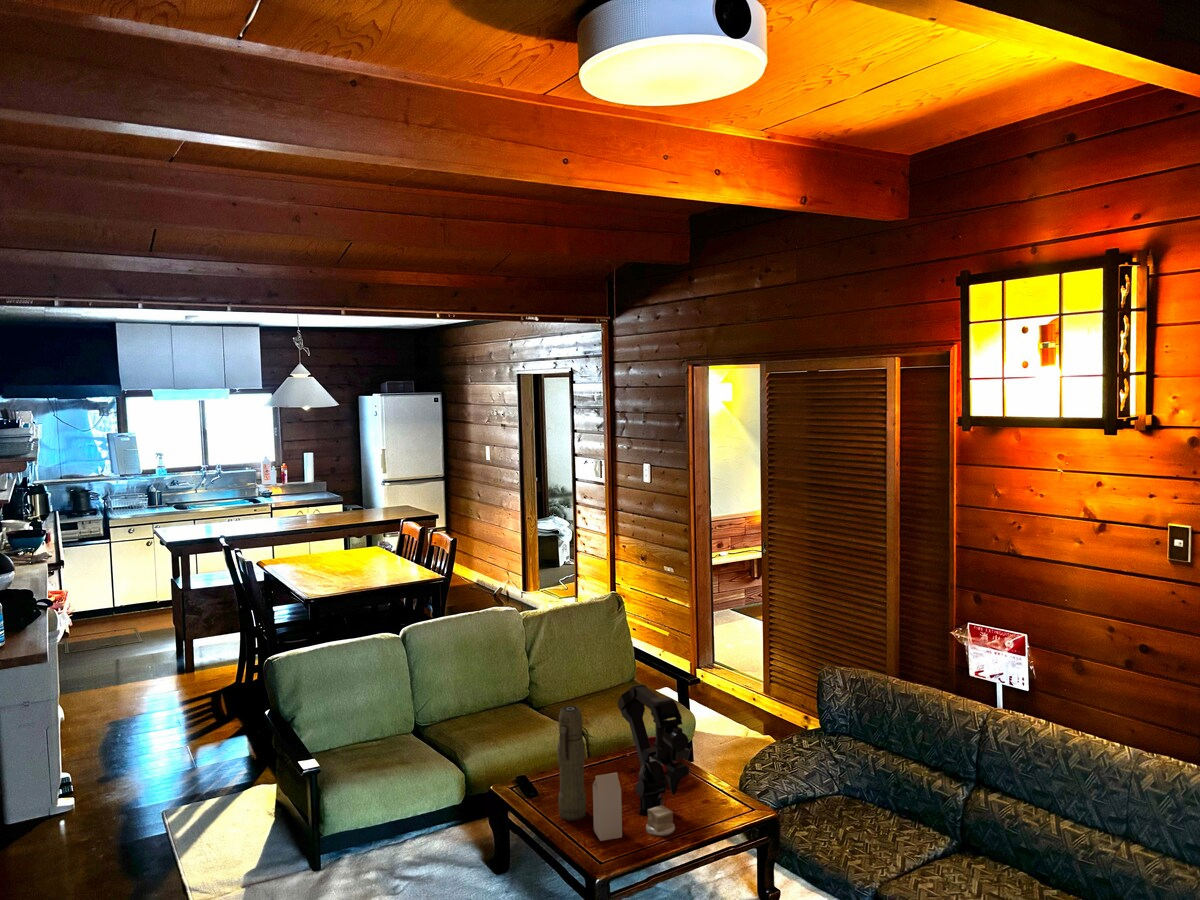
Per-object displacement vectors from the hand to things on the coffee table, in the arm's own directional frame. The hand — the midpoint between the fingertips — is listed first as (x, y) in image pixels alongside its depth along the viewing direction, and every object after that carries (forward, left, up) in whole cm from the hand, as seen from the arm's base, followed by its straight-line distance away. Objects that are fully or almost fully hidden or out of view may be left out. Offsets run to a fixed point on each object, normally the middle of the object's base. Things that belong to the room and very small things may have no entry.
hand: (665, 788), depth 278 cm
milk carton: (-15, -12, -12) cm, 23 cm away
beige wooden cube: (-1, -3, -11) cm, 11 cm away
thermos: (-31, -4, -12) cm, 33 cm away
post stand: (-1, -3, -12) cm, 12 cm away
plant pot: (-16, +35, -12) cm, 40 cm away
